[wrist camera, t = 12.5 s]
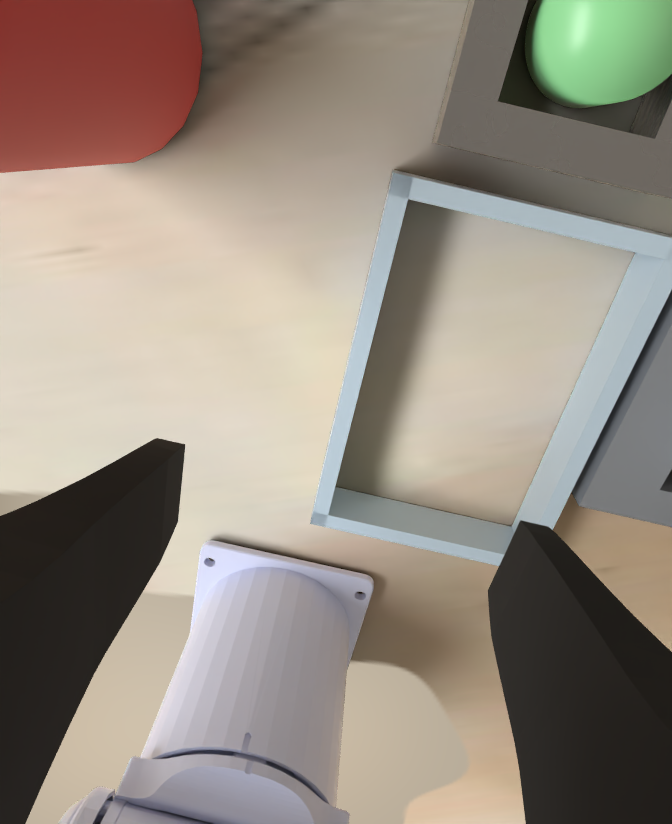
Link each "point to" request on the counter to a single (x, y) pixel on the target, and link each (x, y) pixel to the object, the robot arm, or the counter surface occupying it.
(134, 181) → the counter surface
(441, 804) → the counter surface
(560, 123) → the button housing
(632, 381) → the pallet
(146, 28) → the beer can
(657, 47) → the button
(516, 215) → the light blue rectangular frame
